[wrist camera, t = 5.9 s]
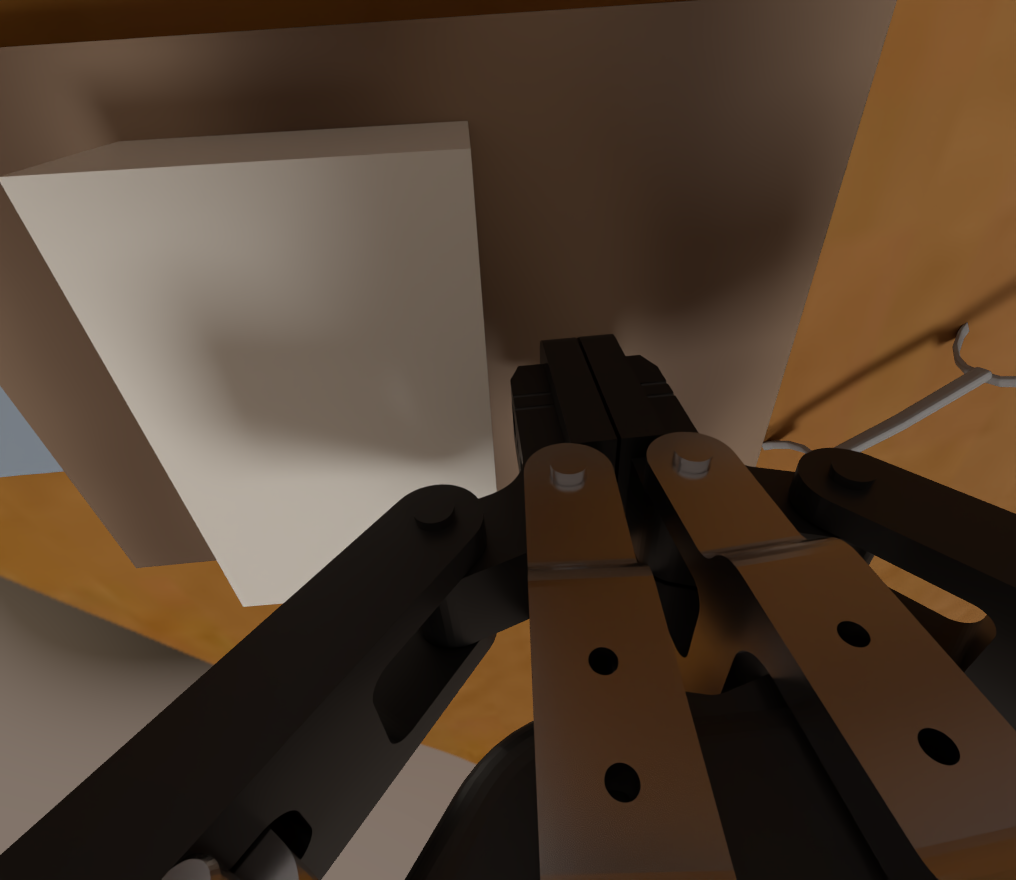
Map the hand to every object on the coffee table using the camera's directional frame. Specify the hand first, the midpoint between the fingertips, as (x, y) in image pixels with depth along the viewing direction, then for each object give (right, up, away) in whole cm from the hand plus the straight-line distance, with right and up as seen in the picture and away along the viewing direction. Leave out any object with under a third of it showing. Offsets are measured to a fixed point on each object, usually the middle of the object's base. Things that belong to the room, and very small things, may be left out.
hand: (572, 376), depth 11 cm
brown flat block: (-4, +3, +4) cm, 6 cm away
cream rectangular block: (-5, -1, -1) cm, 5 cm away
